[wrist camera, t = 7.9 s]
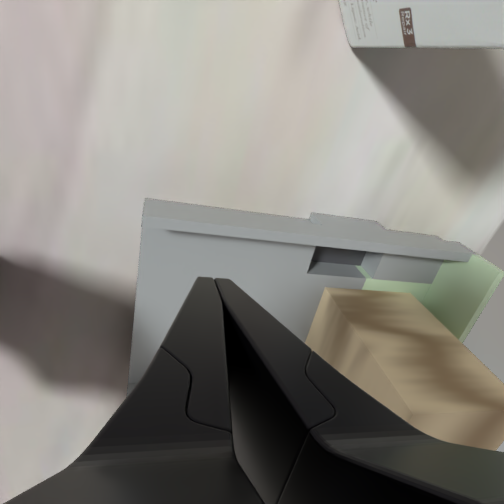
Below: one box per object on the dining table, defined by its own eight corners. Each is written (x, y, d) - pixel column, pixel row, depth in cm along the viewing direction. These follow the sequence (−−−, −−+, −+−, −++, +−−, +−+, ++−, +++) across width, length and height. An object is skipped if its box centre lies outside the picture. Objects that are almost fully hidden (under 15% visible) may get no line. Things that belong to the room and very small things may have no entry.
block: (304, 343, 27) (372, 482, 18) (325, 287, 24) (412, 414, 16) (385, 344, 29) (480, 470, 20) (410, 292, 26) (529, 408, 18)
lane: (129, 368, 27) (121, 442, 22) (145, 190, 21) (139, 235, 16) (372, 368, 33) (410, 427, 28) (440, 229, 27) (505, 272, 22)
